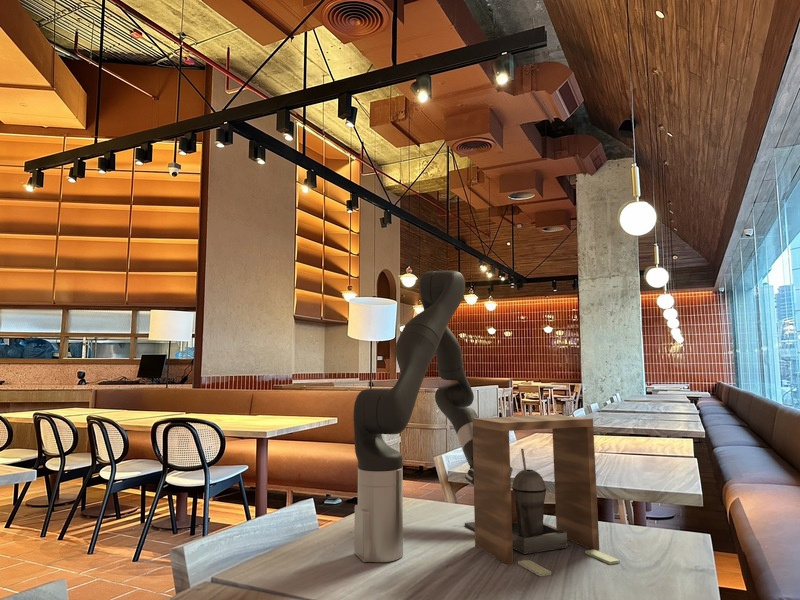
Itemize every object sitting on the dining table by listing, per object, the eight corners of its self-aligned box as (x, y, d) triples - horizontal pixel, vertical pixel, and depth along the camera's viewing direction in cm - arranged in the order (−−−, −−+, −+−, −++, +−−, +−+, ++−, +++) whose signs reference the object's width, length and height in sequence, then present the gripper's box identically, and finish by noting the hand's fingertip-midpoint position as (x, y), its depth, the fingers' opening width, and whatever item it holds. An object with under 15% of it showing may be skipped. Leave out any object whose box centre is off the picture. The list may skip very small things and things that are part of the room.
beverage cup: (552, 550, 114) (548, 451, 117) (517, 550, 114) (513, 451, 117) (544, 539, 121) (540, 446, 124) (510, 539, 121) (508, 446, 124)
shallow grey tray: (524, 554, 111) (522, 502, 112) (491, 536, 123) (490, 490, 124) (567, 547, 115) (565, 497, 116) (531, 531, 126) (530, 486, 128)
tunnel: (506, 563, 106) (501, 423, 110) (475, 545, 117) (472, 418, 121) (599, 549, 115) (592, 418, 118) (562, 533, 126) (557, 414, 129)
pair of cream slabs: (540, 576, 100) (540, 573, 100) (518, 564, 106) (518, 561, 106) (619, 562, 106) (619, 560, 106) (594, 552, 113) (594, 549, 113)
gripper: (457, 436, 136) (484, 498, 124) (503, 433, 141) (533, 493, 128) (448, 455, 141) (473, 517, 128) (493, 452, 145) (521, 511, 133)
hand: (503, 505), depth 128 cm, fingers closed
